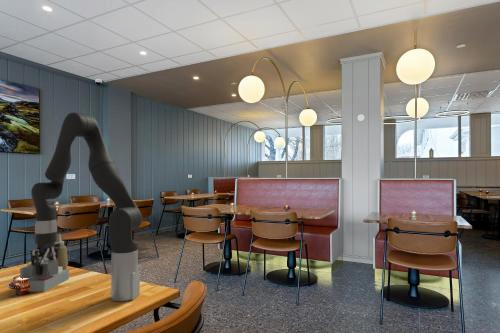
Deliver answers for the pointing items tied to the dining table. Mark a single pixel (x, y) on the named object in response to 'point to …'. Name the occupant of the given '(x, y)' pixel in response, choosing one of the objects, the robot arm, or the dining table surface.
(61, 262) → the squeeze bottle
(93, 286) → the dining table surface
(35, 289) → the breaker box
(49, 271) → the grey square block
